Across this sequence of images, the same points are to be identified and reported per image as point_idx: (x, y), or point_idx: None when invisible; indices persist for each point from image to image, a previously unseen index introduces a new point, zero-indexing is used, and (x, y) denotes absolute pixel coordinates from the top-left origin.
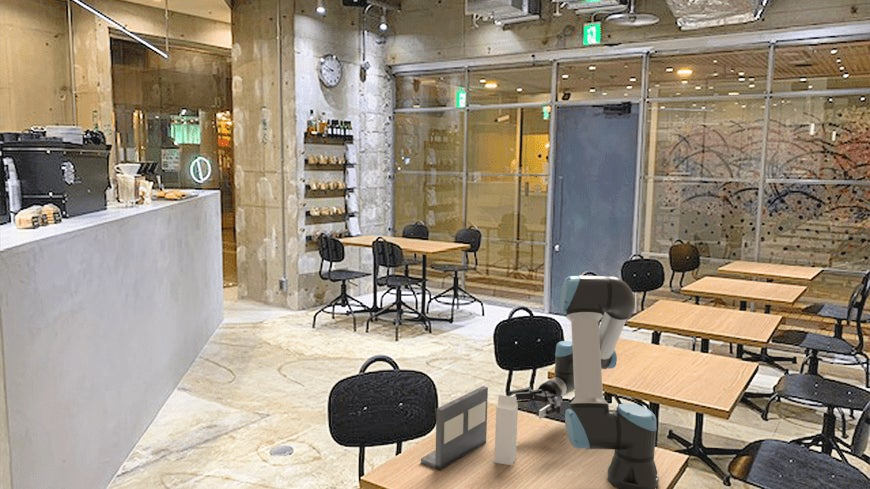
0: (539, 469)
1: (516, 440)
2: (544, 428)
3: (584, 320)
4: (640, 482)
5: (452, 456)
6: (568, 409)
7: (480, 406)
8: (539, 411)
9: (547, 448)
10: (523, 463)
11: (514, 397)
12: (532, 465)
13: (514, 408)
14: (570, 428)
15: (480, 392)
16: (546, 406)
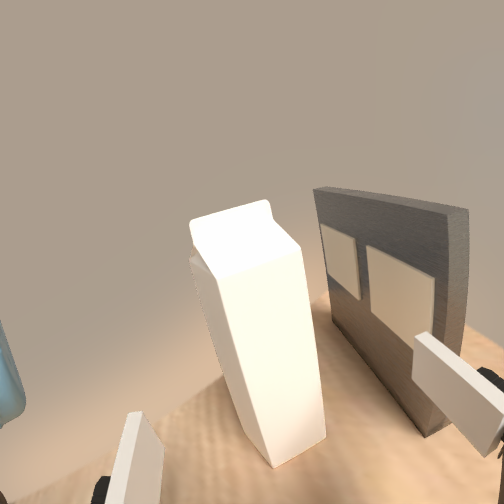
0: (170, 470)
1: (258, 427)
2: None
3: None
4: None
5: (347, 326)
6: None
7: (406, 276)
8: (142, 415)
9: None
10: (229, 463)
11: (198, 220)
12: (199, 473)
13: (190, 257)
14: (2, 332)
15: (407, 213)
16: (117, 486)
